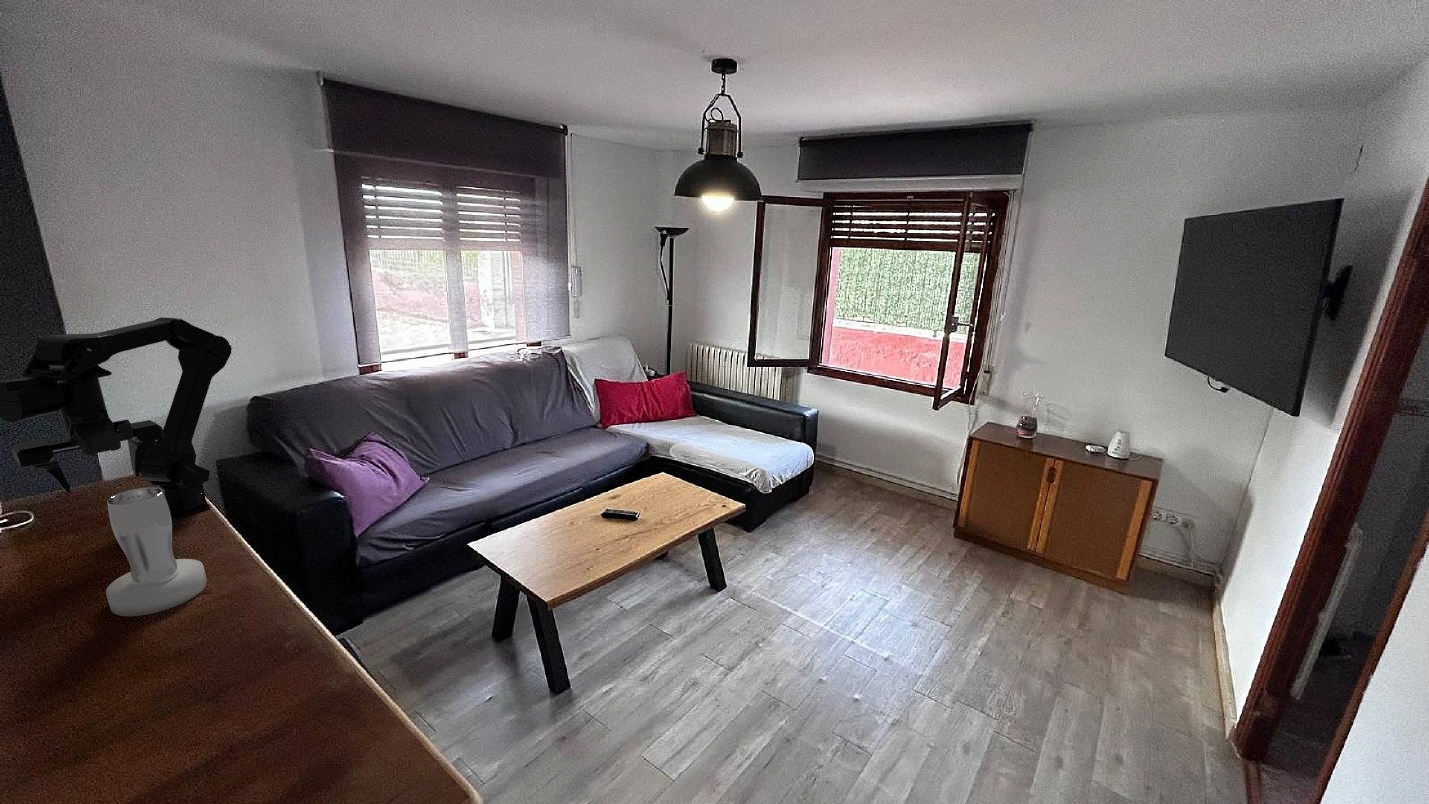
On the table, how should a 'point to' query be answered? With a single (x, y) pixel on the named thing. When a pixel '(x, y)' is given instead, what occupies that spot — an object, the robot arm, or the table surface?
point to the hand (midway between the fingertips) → (104, 484)
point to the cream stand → (156, 591)
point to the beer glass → (144, 534)
